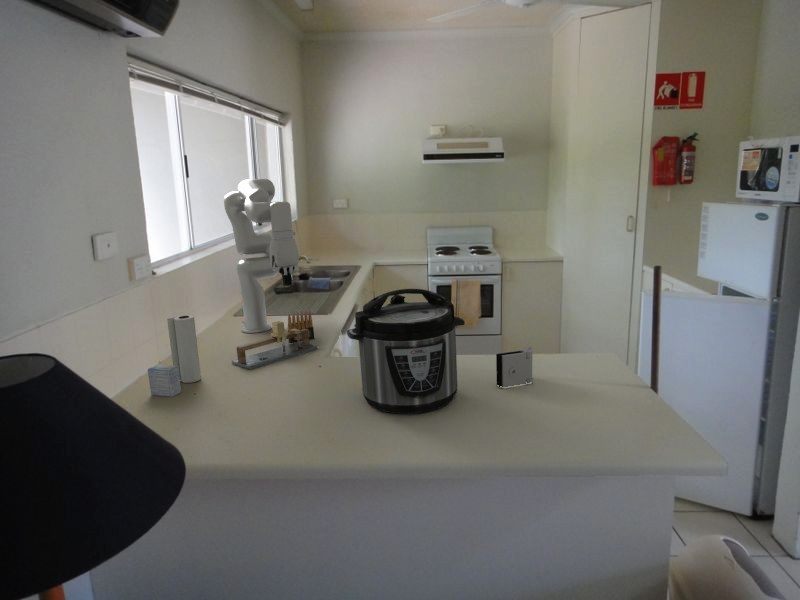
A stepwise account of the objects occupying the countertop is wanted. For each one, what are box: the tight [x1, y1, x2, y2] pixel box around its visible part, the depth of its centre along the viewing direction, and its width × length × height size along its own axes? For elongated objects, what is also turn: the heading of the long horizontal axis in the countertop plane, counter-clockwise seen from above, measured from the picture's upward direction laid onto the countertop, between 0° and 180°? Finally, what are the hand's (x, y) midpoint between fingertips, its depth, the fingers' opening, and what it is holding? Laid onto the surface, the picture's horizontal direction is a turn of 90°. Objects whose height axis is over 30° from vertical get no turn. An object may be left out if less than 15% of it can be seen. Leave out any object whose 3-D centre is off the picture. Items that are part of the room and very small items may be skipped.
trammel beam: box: [236, 329, 310, 364], centre depth 209 cm, size 4×30×7 cm, turn 138°
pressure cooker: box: [346, 288, 466, 414], centre depth 159 cm, size 30×28×32 cm
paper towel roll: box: [166, 314, 202, 384], centre depth 185 cm, size 7×6×21 cm
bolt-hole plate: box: [231, 341, 319, 371], centre depth 210 cm, size 11×30×1 cm, turn 137°
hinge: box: [495, 345, 533, 388], centre depth 170 cm, size 14×5×10 cm, turn 120°
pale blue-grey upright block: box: [147, 364, 182, 398], centre depth 175 cm, size 8×4×9 cm, turn 71°
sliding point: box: [270, 320, 288, 352], centre depth 210 cm, size 5×4×11 cm
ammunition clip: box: [287, 309, 316, 344], centre depth 229 cm, size 11×2×12 cm, turn 124°
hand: (287, 285), depth 213 cm, fingers closed
